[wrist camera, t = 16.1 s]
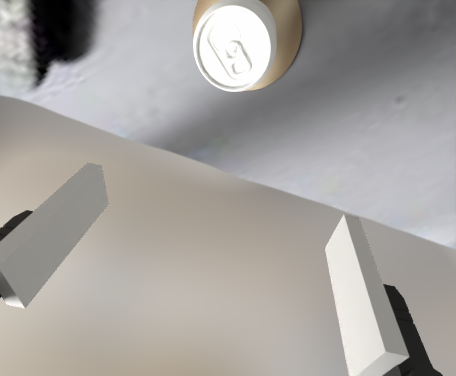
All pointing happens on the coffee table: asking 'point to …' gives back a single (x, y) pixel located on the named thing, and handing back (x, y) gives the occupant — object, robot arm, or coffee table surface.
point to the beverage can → (235, 44)
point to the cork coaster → (285, 31)
